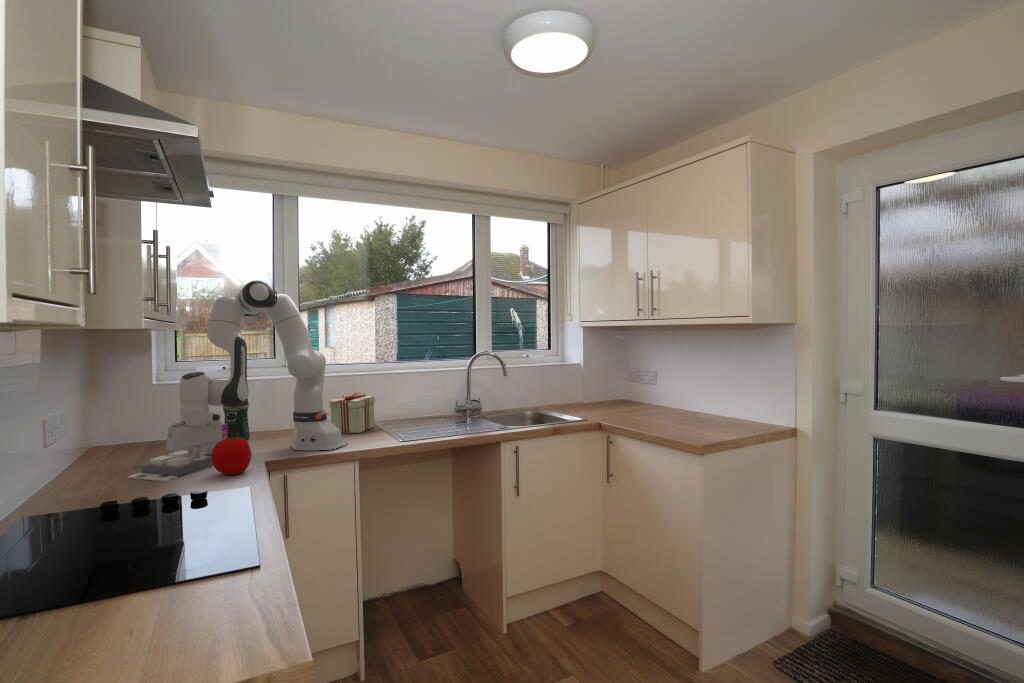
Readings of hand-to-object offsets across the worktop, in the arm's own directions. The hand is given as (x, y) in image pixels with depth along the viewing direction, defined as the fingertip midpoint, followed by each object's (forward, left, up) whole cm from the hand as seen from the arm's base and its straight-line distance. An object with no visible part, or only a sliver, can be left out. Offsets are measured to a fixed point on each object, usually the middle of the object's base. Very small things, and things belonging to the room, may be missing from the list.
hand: (195, 457), depth 184 cm
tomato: (-19, +3, -3) cm, 19 cm away
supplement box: (+7, -17, -3) cm, 18 cm away
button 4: (0, 0, -2) cm, 2 cm away
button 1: (+7, +7, -1) cm, 10 cm away
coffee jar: (+17, -38, -3) cm, 41 cm away
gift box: (-19, -68, -4) cm, 70 cm away
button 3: (+7, 0, -1) cm, 7 cm away
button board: (+3, +6, -3) cm, 7 cm away
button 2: (0, +7, -1) cm, 7 cm away
